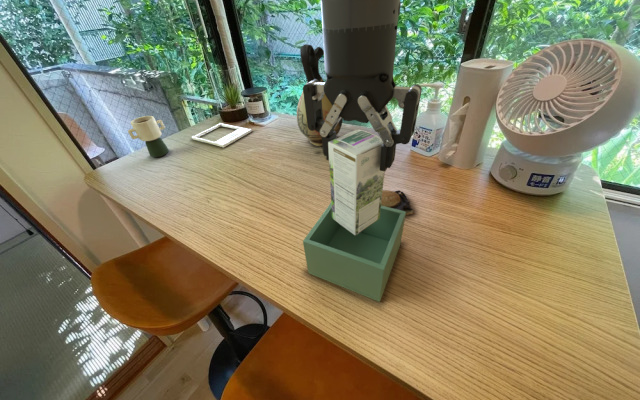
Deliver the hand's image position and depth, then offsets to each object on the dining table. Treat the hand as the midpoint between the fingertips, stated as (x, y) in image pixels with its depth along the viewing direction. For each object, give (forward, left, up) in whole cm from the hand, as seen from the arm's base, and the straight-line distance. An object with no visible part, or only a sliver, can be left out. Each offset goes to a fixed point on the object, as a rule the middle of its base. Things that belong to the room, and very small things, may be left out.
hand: (357, 162), depth 36 cm
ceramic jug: (+43, +30, -21) cm, 57 cm away
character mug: (+15, +81, -21) cm, 85 cm away
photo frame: (+35, +70, -21) cm, 81 cm away
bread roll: (+17, -1, -21) cm, 27 cm away
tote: (0, 0, -21) cm, 21 cm away
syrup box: (0, 0, -11) cm, 11 cm away
